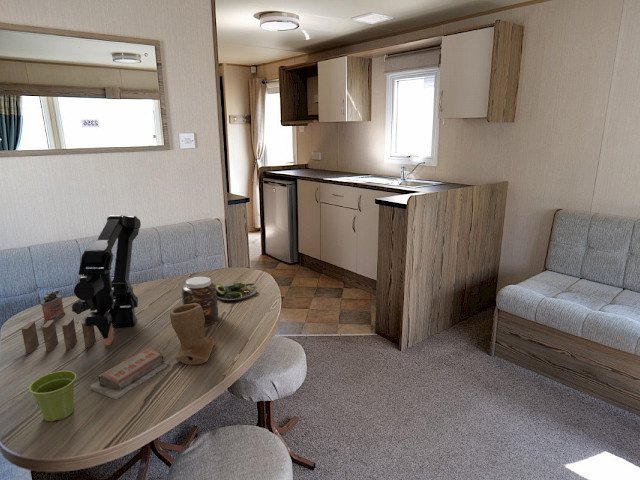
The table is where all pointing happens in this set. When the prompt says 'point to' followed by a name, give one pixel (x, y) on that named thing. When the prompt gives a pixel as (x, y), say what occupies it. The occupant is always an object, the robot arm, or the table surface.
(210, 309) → the jar
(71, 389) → the plant pot
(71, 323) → the domino
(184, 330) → the tan boot
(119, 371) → the packaged product
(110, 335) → the domino
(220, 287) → the salad plate
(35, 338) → the domino
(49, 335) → the domino
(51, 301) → the lighter
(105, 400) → the table surface
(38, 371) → the table surface
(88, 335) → the domino
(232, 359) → the table surface
